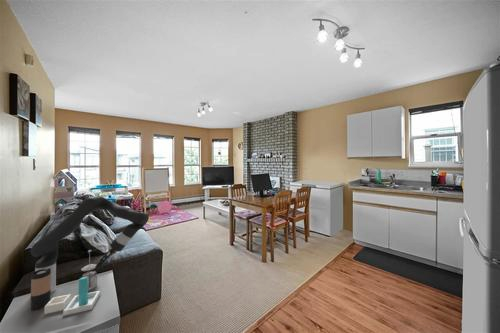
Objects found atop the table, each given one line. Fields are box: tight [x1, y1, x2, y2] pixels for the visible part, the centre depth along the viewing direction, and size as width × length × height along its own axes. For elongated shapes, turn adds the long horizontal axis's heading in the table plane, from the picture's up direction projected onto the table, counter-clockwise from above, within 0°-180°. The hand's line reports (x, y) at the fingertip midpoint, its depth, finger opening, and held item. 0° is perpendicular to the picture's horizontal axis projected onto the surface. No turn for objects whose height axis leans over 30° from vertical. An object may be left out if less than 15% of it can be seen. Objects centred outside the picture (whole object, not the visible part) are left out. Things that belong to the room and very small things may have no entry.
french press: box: [80, 249, 98, 291], centre depth 126 cm, size 10×12×25 cm
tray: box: [62, 290, 101, 317], centre depth 109 cm, size 12×14×4 cm
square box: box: [44, 293, 72, 315], centre depth 107 cm, size 8×8×5 cm
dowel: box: [78, 276, 89, 306], centre depth 110 cm, size 4×4×14 cm
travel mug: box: [30, 268, 51, 311], centre depth 109 cm, size 8×8×20 cm
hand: (100, 265), depth 114 cm, fingers open, 8 cm apart
